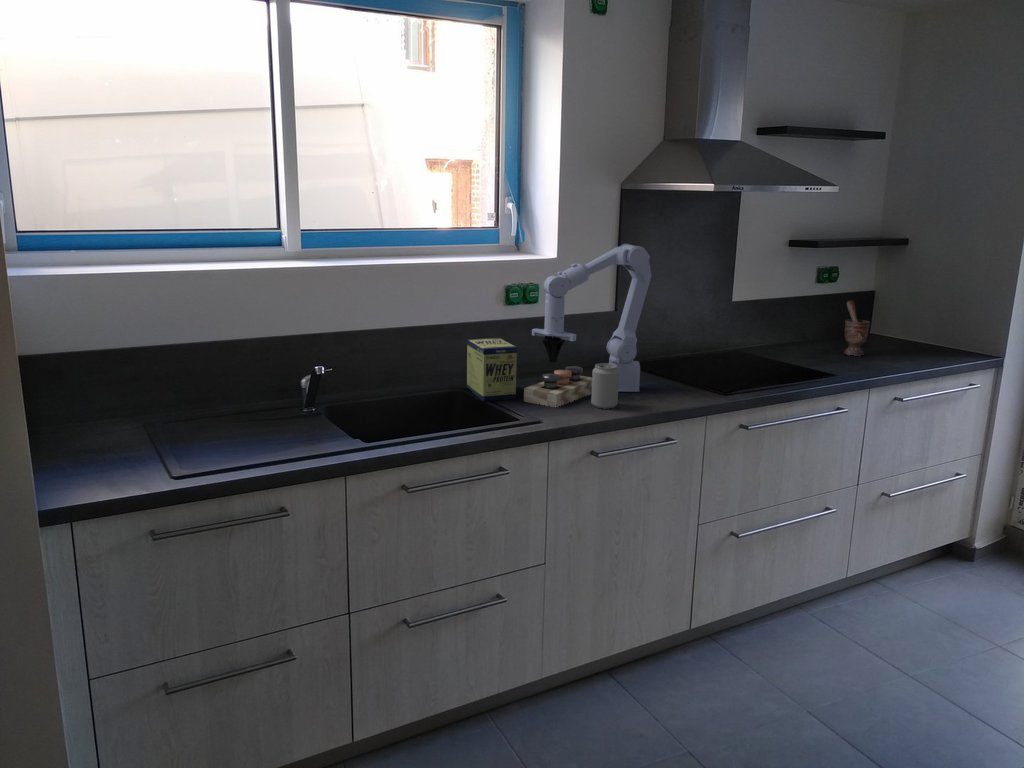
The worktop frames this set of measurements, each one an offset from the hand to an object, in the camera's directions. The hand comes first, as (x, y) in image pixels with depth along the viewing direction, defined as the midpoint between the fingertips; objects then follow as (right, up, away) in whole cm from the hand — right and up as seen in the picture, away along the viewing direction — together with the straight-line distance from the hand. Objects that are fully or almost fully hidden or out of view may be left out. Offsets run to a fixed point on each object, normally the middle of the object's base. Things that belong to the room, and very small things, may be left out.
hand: (552, 361), depth 247 cm
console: (+3, -10, -2) cm, 11 cm away
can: (+14, -13, -12) cm, 22 cm away
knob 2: (+6, -6, +3) cm, 9 cm away
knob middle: (+3, -7, -3) cm, 8 cm away
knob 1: (-1, -9, -8) cm, 12 cm away
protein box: (-19, -10, 0) cm, 21 cm away
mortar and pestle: (+117, +5, +69) cm, 136 cm away
